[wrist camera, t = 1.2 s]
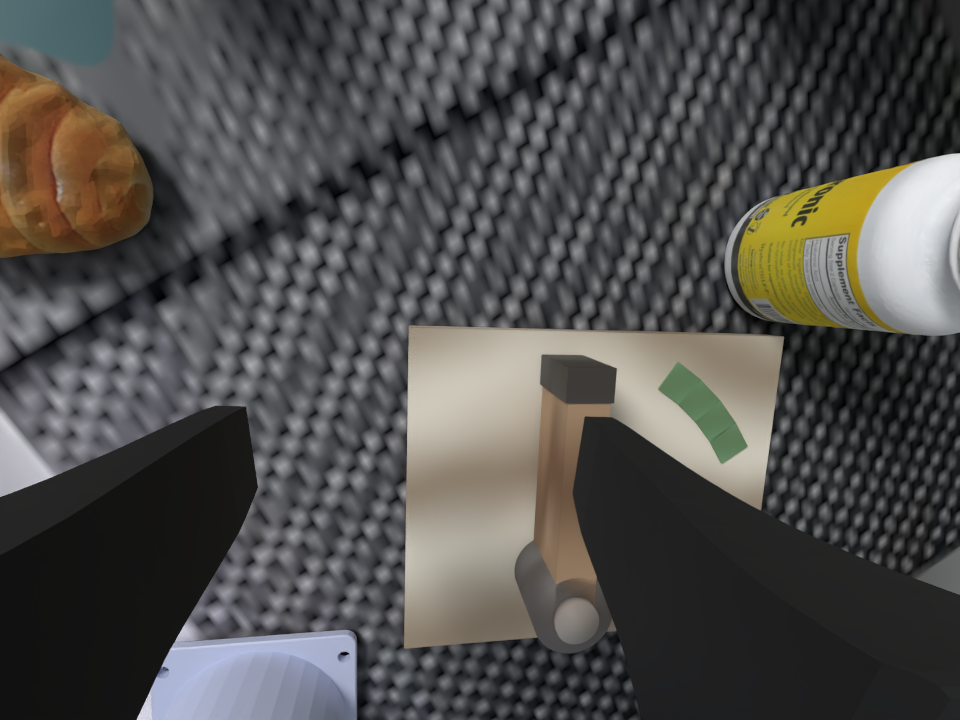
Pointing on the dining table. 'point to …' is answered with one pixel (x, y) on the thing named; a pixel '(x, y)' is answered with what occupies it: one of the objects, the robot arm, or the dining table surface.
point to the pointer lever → (564, 510)
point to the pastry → (64, 171)
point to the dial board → (515, 449)
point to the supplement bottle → (856, 252)
